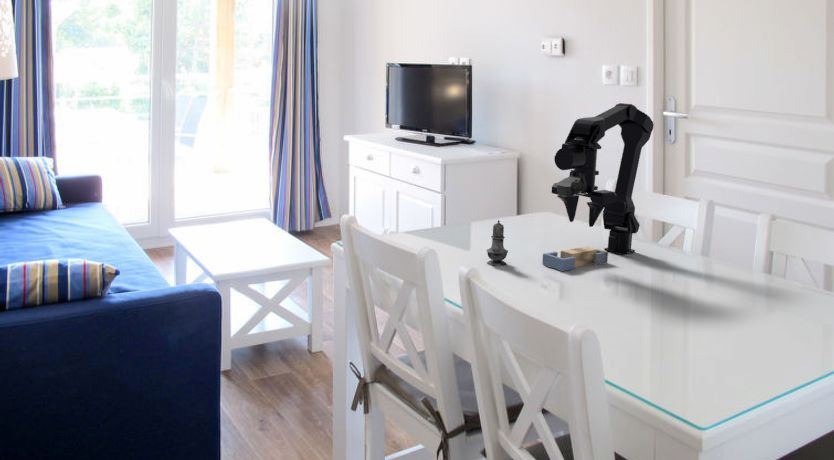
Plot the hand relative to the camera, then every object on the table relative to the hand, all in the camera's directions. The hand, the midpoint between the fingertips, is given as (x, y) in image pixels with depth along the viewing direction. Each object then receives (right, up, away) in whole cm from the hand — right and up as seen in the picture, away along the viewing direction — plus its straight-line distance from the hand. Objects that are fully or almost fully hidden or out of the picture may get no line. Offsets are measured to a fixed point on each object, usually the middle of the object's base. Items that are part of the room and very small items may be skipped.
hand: (581, 224), depth 239 cm
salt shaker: (-23, -11, 0) cm, 25 cm away
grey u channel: (+4, -10, +5) cm, 12 cm away
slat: (0, -11, +2) cm, 11 cm away
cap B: (-7, -12, -2) cm, 14 cm away
